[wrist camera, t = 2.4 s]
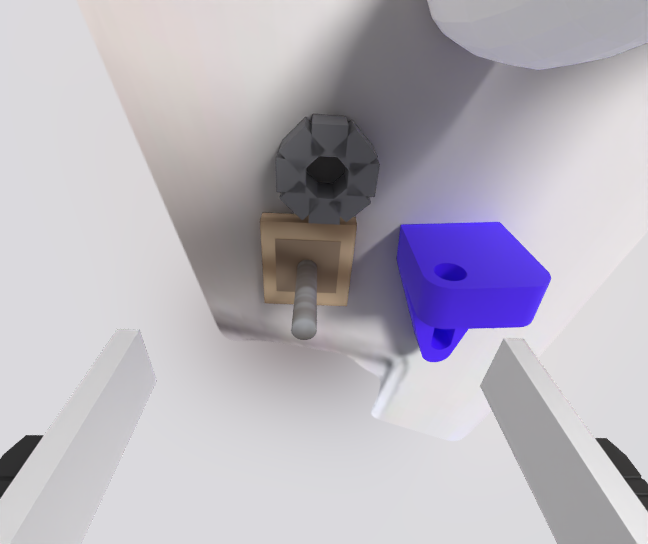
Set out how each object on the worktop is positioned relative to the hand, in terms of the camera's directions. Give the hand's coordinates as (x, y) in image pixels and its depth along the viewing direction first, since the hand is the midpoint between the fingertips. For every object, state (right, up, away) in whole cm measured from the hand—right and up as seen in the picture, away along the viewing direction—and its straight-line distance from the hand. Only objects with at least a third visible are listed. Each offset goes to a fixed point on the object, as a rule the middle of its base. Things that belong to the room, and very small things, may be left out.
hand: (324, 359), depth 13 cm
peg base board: (-2, +5, +27) cm, 27 cm away
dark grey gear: (0, +14, +21) cm, 25 cm away
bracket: (+14, +1, +30) cm, 33 cm away
